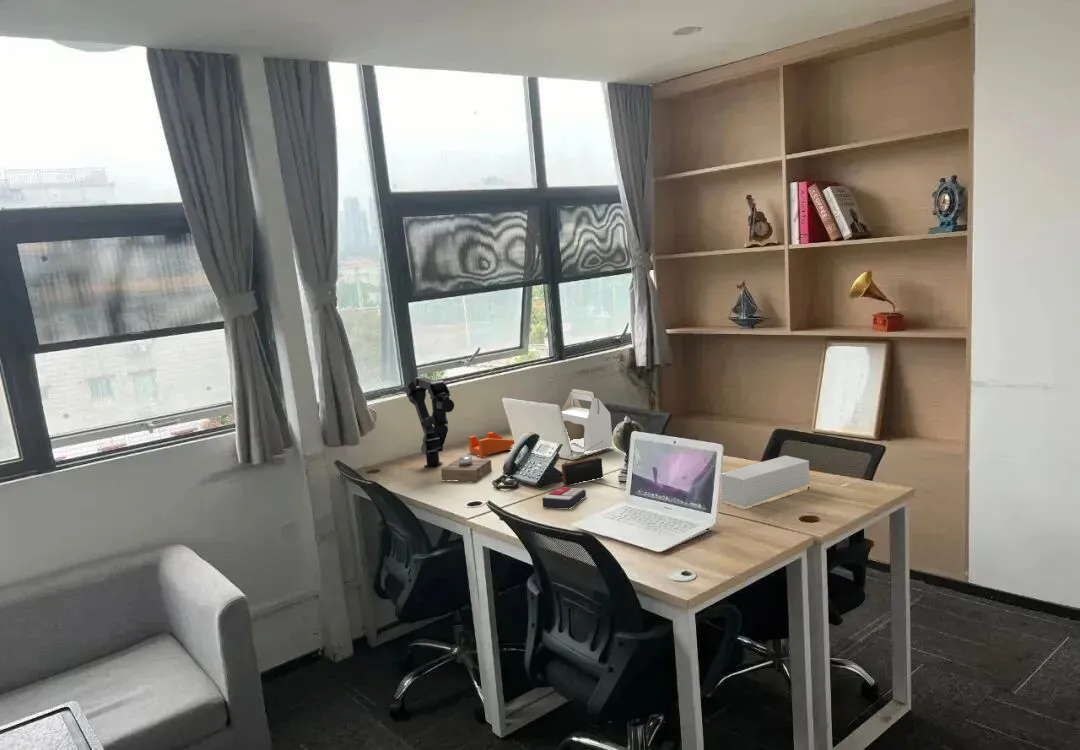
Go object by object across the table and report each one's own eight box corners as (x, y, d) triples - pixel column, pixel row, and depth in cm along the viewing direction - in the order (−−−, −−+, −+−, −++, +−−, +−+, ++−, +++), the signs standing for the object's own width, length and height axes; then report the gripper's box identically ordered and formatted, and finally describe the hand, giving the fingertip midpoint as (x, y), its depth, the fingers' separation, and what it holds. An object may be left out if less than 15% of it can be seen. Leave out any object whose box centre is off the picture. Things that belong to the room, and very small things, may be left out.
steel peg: (464, 472, 334) (462, 455, 333) (475, 473, 332) (474, 456, 331) (458, 476, 329) (456, 459, 328) (470, 476, 327) (468, 459, 326)
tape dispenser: (482, 458, 360) (480, 440, 359) (470, 453, 371) (468, 436, 369) (515, 450, 369) (514, 433, 368) (502, 446, 380) (501, 429, 379)
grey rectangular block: (786, 483, 285) (785, 455, 284) (809, 489, 276) (808, 460, 274) (722, 503, 269) (720, 473, 268) (744, 510, 260) (743, 479, 259)
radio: (566, 486, 303) (563, 449, 301) (563, 485, 306) (560, 448, 304) (608, 478, 310) (605, 441, 308) (604, 476, 313) (601, 440, 311)
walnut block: (458, 470, 341) (457, 459, 340) (491, 470, 335) (490, 459, 334) (442, 480, 326) (440, 469, 325) (476, 481, 320) (475, 470, 320)
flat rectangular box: (585, 487, 288) (569, 498, 275) (586, 499, 289) (570, 510, 275) (558, 486, 293) (541, 496, 280) (559, 497, 294) (542, 507, 280)
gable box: (561, 448, 365) (557, 390, 360) (584, 443, 372) (579, 385, 368) (590, 456, 346) (586, 394, 342) (613, 450, 353) (609, 390, 349)
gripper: (421, 407, 346) (424, 441, 348) (419, 415, 328) (423, 451, 330) (446, 405, 347) (449, 438, 349) (446, 412, 329) (449, 448, 331)
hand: (442, 444), depth 340 cm, fingers closed
